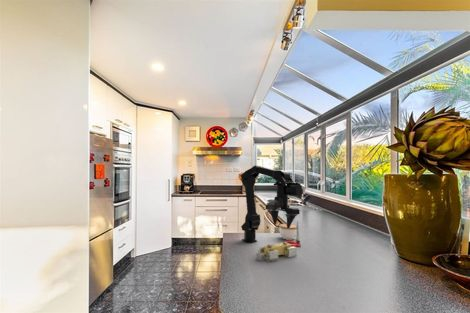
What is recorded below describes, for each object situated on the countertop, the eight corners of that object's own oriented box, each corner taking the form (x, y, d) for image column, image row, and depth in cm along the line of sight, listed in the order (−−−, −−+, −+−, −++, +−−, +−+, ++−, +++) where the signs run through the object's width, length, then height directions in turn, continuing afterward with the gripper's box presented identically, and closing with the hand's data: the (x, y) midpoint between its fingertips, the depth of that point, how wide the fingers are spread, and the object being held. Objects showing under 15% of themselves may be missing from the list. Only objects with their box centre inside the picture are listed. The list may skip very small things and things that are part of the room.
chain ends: (252, 257, 107) (253, 248, 108) (288, 250, 120) (288, 242, 120) (264, 263, 101) (264, 253, 101) (300, 254, 114) (300, 246, 114)
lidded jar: (287, 235, 151) (288, 220, 152) (300, 239, 142) (300, 224, 143) (275, 237, 145) (275, 222, 146) (287, 241, 136) (288, 225, 137)
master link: (263, 255, 108) (263, 244, 108) (285, 250, 116) (285, 241, 116) (268, 257, 105) (269, 246, 106) (290, 252, 113) (290, 242, 113)
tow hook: (284, 247, 127) (301, 247, 126) (283, 222, 128) (300, 222, 128) (281, 243, 135) (297, 243, 135) (281, 220, 136) (297, 220, 136)
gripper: (258, 193, 123) (257, 223, 122) (284, 197, 108) (283, 231, 107) (274, 193, 130) (273, 222, 128) (300, 196, 114) (300, 229, 113)
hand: (281, 226), depth 119 cm, fingers open, 9 cm apart
